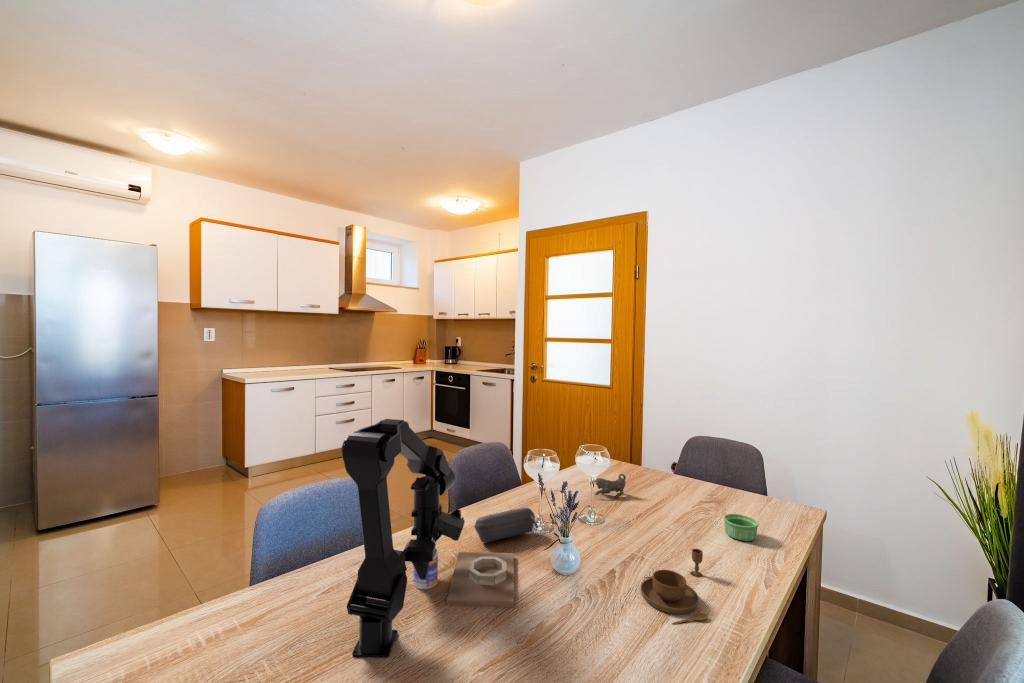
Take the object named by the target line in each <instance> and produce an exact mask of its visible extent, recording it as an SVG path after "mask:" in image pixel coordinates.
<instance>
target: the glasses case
mask: <svg viewBox="0 0 1024 683" xmlns="http://www.w3.org/2000/svg"><path fill="white" fill-rule="evenodd" d="M534 526H535V528H536V529H539V526H538V524H537V522H536V515H535V513H534V511H533V510H532V509H531V508H529V507H523V508H522V507H521V508H515V509H514V508H512V509H507V510H503V511H499V512H494V513H492V514H487V515H484V516H481V517H480V516H479V518H477V519H476V521H475V524H474V529H475V531H476V533H477V535H478V537H479V540H480V541H481V542H482V543H490V542H494V541H498V540H502V539H507V538H511V537H515V536H519V535H524V534H527V533H531V532H532V531H533V530H534Z"/></svg>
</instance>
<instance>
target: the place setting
mask: <svg viewBox="0 0 1024 683" xmlns="http://www.w3.org/2000/svg"><path fill="white" fill-rule="evenodd" d="M703 556H704V551H703V550H702V549H699V548H691V560H692V562H693V563H694V568H693V569H694V570H693V571H690V573H689V574H690V575H691V576H692V577H694V578H695V577H696V578H703V576H704V575H703V573H702V572H700V566H699V564H701V563H702V562H703ZM644 579H645V580H643V581H642V582H641V583H640V592H641V596H642V598H643V599H644V600H645V602H647V603H648V604H649V605H650V606H652V607H653V608H655V609H657V610H659V611H661V612H664V613H667V614H671V615H683V614H688V613H691V612H693V611H694V610H696V609H697V607H698V605H699V600H700V599H699V596H698V594H697V592H696V590H694V589H693V588H692V587H691V586H690V585H688V584H687V580H686V577H685V576H683V575H682V574H680V573H679V572H677V571H674V570H670V569H657V570H656V571H654V572H653V573H652V575H650V576H646V577H644ZM708 617H709V615H708V614H707V613H703V612H700V613H696V614H694V615H693V616H692V617H690V618H689V617H688V618H686V619H685V618H684V619H683V620H678V621H674V622H671V625H672V626H673V625H680V624H683V623H685V622H690V621H697V622H702V621H706V620H707V618H708Z"/></svg>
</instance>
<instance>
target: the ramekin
mask: <svg viewBox="0 0 1024 683" xmlns="http://www.w3.org/2000/svg"><path fill="white" fill-rule="evenodd" d="M723 521H724V532H725V534H727V535H728V536H729V537H730V538H733V539H736V540H737V541H738V540H739V541H746V542H751V541H754V540H755V539H756V538H757V533H758V527H759V525H760V524H759V522H758V520H756V519H755V518H753V517H751V516H748V515H744V514H739V513H728V514H727V513H726V514H725V515H723Z"/></svg>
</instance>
